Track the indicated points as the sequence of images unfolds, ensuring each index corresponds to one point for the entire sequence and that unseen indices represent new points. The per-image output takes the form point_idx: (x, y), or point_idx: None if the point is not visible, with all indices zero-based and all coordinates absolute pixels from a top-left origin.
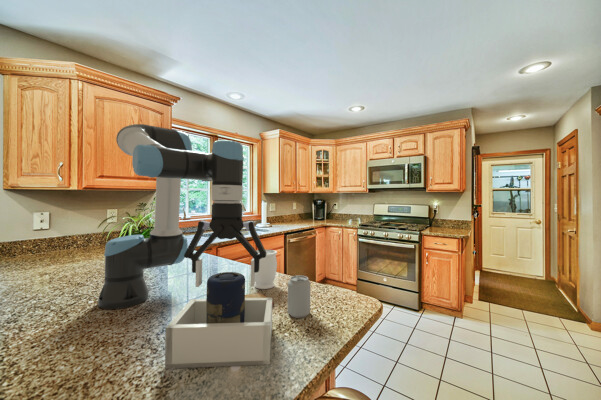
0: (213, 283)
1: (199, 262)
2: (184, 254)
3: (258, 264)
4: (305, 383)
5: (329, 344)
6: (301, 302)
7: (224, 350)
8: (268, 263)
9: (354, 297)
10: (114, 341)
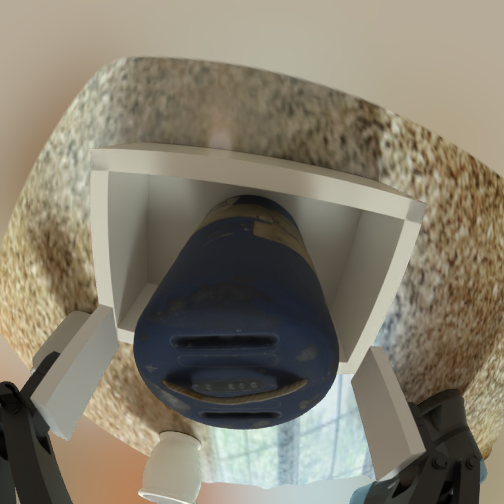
0: (309, 313)
1: (403, 449)
2: (478, 464)
3: (30, 380)
4: (88, 83)
5: (36, 199)
6: (63, 330)
7: (245, 155)
8: (157, 476)
9: (17, 345)
10: (457, 300)
